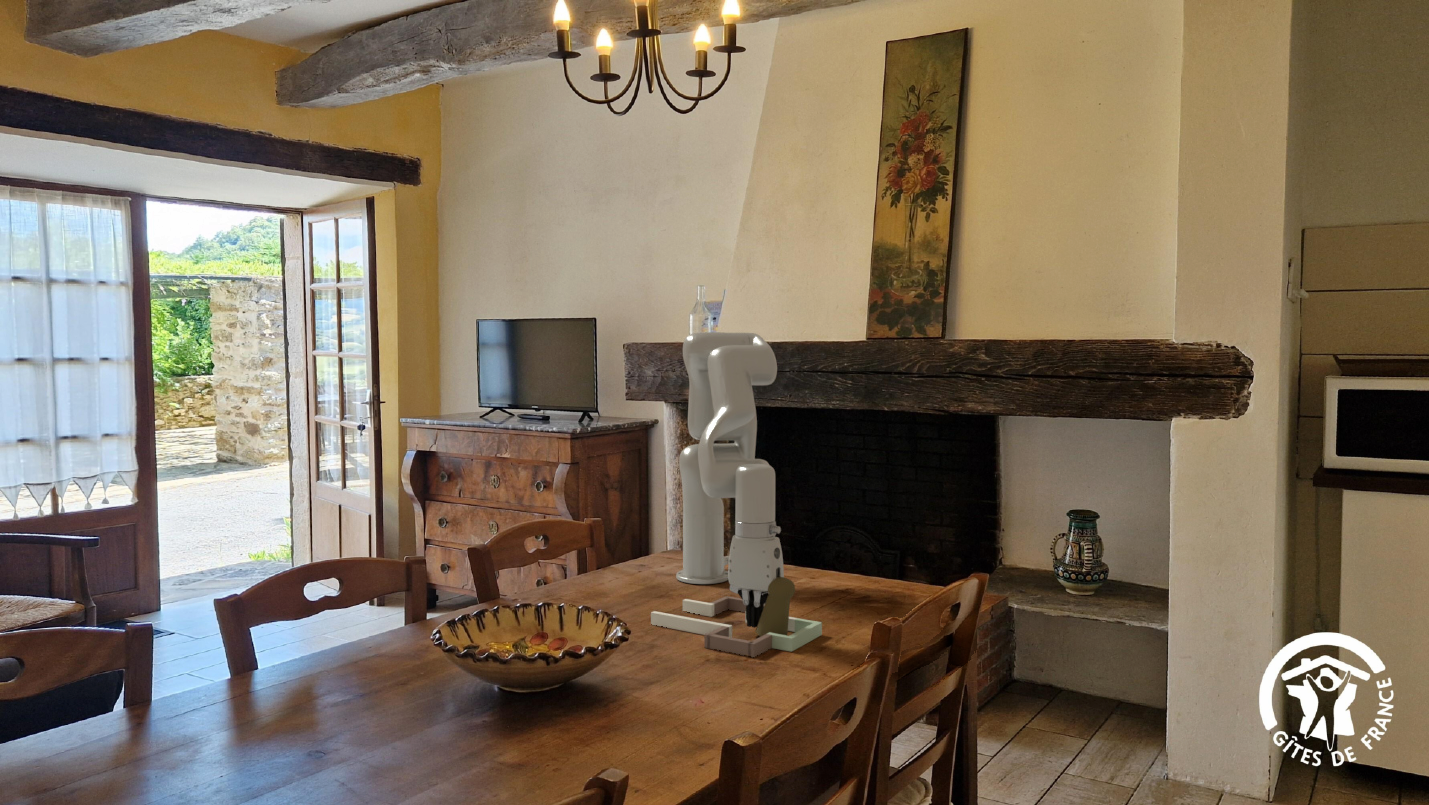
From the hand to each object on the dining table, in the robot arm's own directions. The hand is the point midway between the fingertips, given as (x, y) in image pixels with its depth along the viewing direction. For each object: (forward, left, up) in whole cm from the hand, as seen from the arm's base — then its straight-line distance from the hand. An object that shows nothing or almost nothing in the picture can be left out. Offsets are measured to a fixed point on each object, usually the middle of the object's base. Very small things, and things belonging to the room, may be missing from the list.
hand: (754, 625), depth 188 cm
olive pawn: (0, +4, -1) cm, 4 cm away
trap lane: (0, -5, -2) cm, 6 cm away
